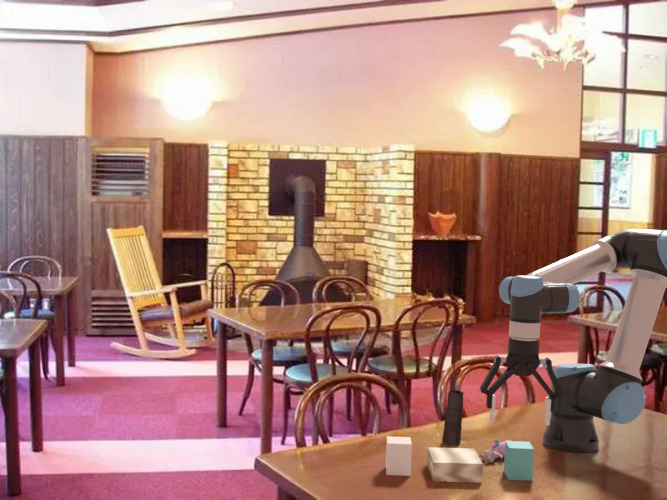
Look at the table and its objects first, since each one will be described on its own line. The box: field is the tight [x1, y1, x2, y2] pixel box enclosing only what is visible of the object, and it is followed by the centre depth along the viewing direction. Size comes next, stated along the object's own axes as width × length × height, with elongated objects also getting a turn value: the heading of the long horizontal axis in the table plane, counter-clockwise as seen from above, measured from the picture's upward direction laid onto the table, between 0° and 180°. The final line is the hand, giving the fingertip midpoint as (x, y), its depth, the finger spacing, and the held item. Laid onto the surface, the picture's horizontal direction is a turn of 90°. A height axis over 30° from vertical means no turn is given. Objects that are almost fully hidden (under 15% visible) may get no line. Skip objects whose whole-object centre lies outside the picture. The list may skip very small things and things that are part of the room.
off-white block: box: [385, 435, 413, 477], centre depth 209 cm, size 6×6×8 cm
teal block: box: [503, 440, 535, 482], centre depth 208 cm, size 6×6×8 cm
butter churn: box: [441, 343, 465, 446], centre depth 233 cm, size 9×10×28 cm
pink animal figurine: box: [478, 438, 511, 465], centre depth 222 cm, size 6×6×15 cm
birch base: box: [426, 446, 484, 483], centre depth 209 cm, size 12×12×5 cm
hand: (519, 422), depth 208 cm, fingers open, 13 cm apart
